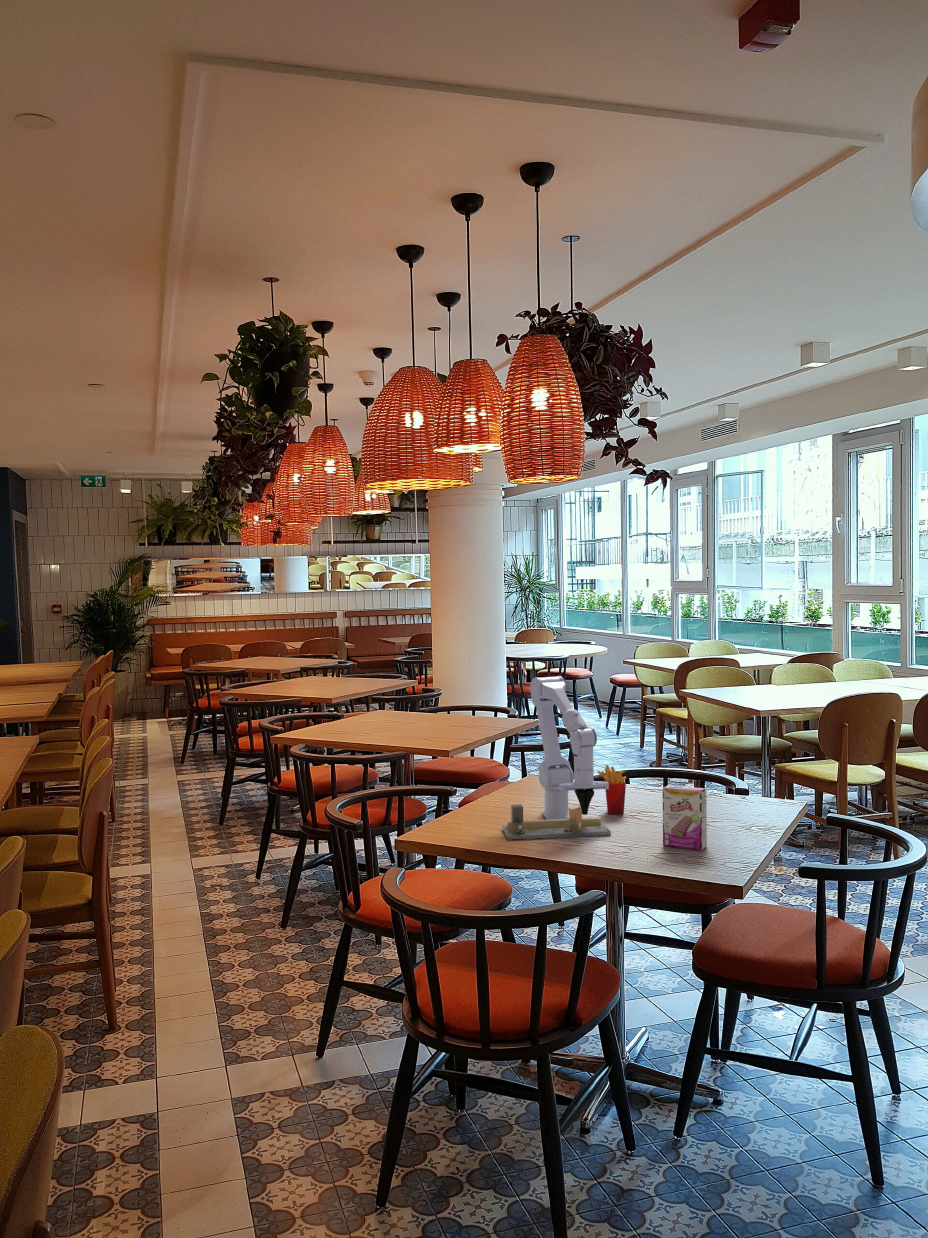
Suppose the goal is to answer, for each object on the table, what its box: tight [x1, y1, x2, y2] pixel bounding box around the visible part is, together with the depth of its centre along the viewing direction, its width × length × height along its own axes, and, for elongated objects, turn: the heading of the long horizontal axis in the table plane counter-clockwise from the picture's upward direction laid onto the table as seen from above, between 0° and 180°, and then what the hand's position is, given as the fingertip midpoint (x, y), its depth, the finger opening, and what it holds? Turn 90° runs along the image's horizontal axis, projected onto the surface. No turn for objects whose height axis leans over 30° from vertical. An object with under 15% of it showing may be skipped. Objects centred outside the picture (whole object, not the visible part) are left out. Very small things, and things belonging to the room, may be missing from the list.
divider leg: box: [568, 806, 583, 829], centre depth 281 cm, size 8×3×5 cm, turn 5°
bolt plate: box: [502, 804, 612, 841], centre depth 280 cm, size 12×30×8 cm, turn 95°
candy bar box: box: [662, 784, 708, 851], centre depth 262 cm, size 11×5×16 cm, turn 59°
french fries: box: [596, 764, 627, 816], centre depth 301 cm, size 9×8×15 cm
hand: (584, 814), depth 284 cm, fingers closed
